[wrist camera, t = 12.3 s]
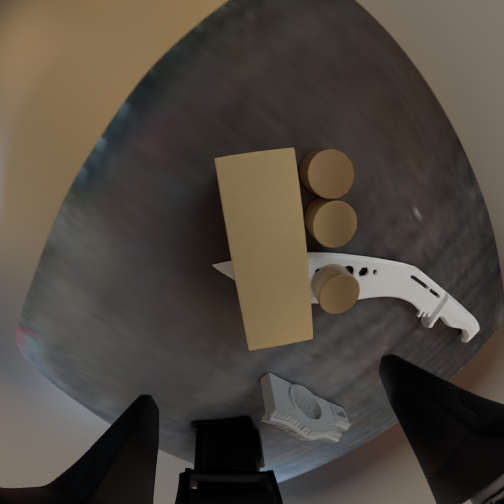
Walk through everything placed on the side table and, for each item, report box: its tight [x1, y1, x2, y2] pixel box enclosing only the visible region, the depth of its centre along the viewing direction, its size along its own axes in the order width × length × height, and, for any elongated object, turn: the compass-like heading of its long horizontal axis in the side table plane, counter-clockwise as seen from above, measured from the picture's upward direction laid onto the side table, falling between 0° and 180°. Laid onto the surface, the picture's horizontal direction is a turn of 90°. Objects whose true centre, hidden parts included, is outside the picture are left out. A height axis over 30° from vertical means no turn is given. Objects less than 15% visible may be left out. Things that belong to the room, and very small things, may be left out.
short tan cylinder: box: [304, 197, 357, 248], centre depth 17 cm, size 3×3×2 cm
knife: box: [212, 252, 479, 342], centre depth 20 cm, size 30×2×8 cm
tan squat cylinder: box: [311, 264, 360, 314], centre depth 18 cm, size 3×3×2 cm
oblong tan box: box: [215, 148, 313, 351], centre depth 15 cm, size 4×10×5 cm, turn 8°
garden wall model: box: [260, 372, 351, 443], centre depth 21 cm, size 12×2×6 cm, turn 49°
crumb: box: [299, 149, 354, 199], centre depth 16 cm, size 3×3×2 cm
